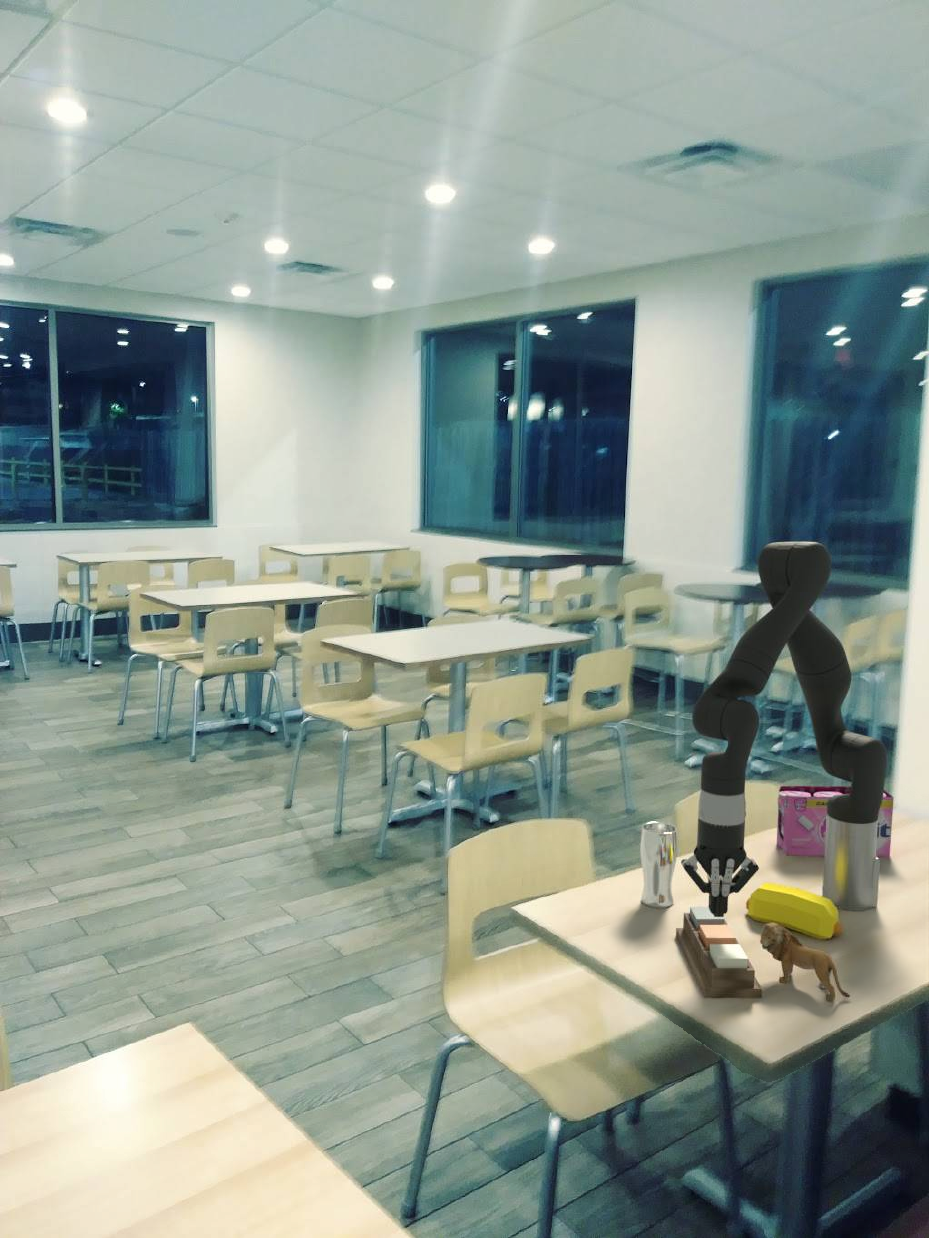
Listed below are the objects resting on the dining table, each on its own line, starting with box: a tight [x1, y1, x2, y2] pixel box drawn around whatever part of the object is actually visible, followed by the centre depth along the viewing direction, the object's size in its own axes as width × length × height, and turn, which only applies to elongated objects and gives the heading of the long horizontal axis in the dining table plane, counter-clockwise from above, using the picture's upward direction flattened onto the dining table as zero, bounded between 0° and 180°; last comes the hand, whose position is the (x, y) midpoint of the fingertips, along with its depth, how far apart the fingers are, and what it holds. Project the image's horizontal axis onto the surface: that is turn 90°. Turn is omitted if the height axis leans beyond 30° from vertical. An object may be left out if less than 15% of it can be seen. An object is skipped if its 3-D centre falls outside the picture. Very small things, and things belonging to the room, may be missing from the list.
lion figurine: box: [759, 922, 851, 1002], centre depth 157 cm, size 15×5×9 cm, turn 52°
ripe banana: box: [745, 881, 844, 940], centre depth 178 cm, size 18×7×8 cm
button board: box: [675, 912, 763, 999], centre depth 163 cm, size 9×21×4 cm, turn 0°
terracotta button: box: [699, 924, 737, 947], centre depth 163 cm, size 5×5×3 cm
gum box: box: [776, 785, 894, 858], centre depth 214 cm, size 24×8×14 cm, turn 89°
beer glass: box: [639, 821, 678, 909], centre depth 187 cm, size 7×7×15 cm
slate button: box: [689, 906, 725, 928], centre depth 170 cm, size 5×5×3 cm
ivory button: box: [710, 943, 749, 968], centre depth 156 cm, size 5×5×3 cm
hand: (717, 914), depth 162 cm, fingers closed
